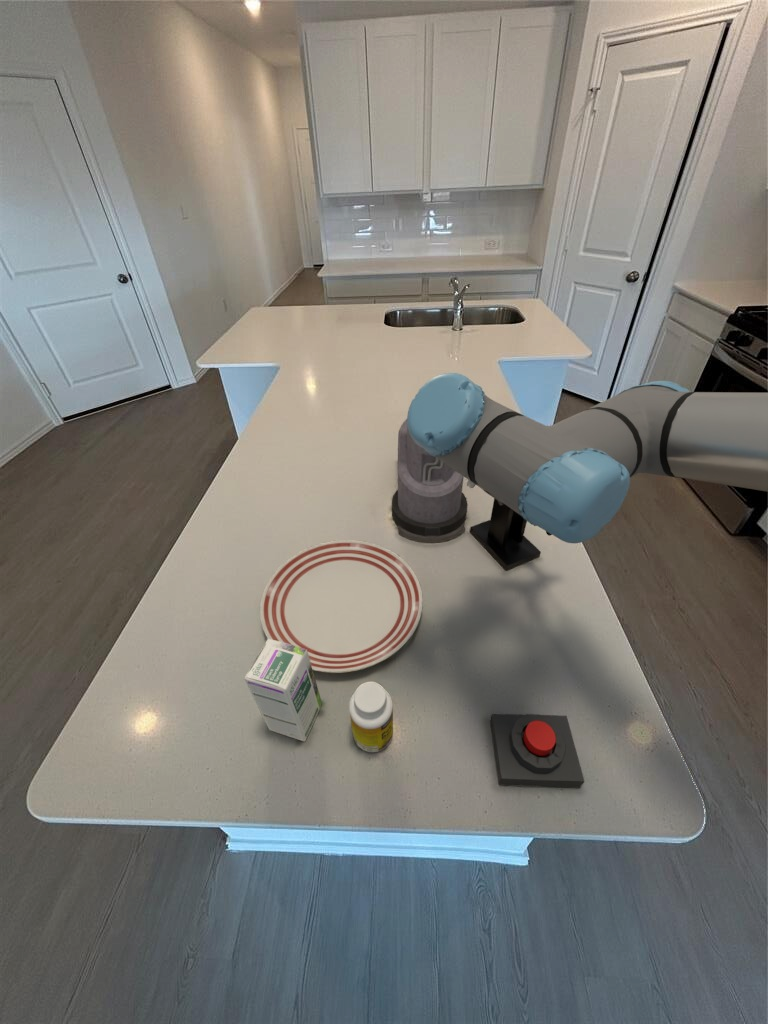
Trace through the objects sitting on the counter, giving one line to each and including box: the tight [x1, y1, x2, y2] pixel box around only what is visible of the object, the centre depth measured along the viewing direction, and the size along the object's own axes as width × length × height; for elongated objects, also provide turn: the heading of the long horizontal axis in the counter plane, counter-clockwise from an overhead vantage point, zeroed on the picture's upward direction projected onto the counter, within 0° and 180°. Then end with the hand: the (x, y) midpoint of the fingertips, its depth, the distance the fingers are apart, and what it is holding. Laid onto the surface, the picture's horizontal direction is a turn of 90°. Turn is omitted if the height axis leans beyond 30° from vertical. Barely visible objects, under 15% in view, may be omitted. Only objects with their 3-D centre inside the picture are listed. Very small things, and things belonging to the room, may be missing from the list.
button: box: [523, 721, 556, 756], centre depth 55 cm, size 4×4×2 cm
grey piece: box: [391, 418, 468, 544], centre depth 91 cm, size 30×16×24 cm, turn 0°
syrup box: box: [243, 638, 323, 743], centre depth 58 cm, size 6×6×14 cm
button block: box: [489, 713, 585, 789], centre depth 57 cm, size 10×8×4 cm
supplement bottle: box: [348, 681, 394, 753], centre depth 57 cm, size 6×6×10 cm
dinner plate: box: [259, 539, 424, 674], centre depth 75 cm, size 28×27×3 cm
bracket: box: [469, 498, 542, 572], centre depth 83 cm, size 12×8×14 cm, turn 26°
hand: (563, 516), depth 69 cm, fingers closed
